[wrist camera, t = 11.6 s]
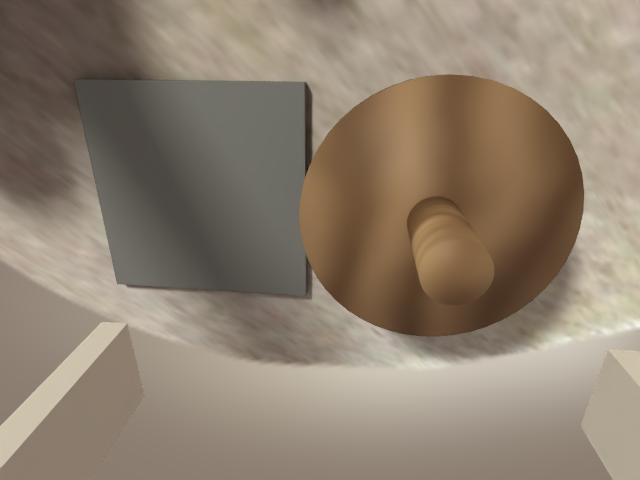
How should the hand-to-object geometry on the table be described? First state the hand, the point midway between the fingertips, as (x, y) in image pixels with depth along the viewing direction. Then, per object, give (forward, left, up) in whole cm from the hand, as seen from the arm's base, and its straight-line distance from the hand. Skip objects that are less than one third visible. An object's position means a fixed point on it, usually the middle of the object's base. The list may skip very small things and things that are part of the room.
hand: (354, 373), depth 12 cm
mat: (-17, -4, -30) cm, 35 cm away
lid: (+5, -2, -20) cm, 21 cm away
